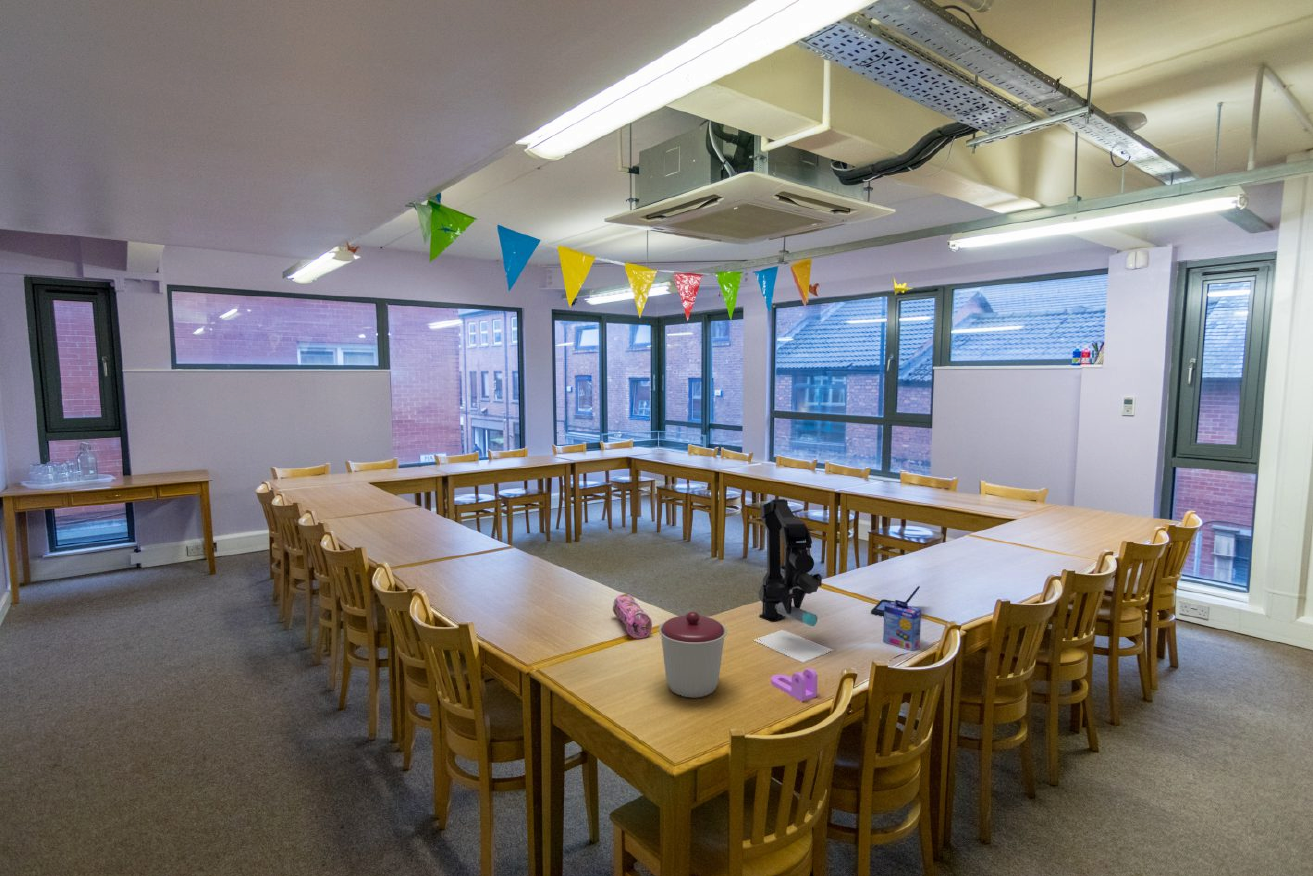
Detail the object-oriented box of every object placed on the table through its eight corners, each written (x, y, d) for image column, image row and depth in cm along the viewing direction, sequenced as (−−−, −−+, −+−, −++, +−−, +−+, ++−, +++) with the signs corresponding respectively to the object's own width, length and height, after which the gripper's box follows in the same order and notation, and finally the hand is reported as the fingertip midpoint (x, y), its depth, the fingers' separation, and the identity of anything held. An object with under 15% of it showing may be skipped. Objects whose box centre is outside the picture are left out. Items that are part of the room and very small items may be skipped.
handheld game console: (882, 602, 238) (882, 578, 237) (919, 610, 230) (920, 585, 230) (869, 615, 225) (870, 589, 224) (909, 623, 217) (910, 597, 217)
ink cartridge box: (881, 642, 201) (883, 597, 199) (889, 637, 205) (891, 593, 203) (912, 652, 194) (914, 605, 192) (920, 646, 198) (922, 601, 196)
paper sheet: (753, 641, 201) (753, 640, 201) (782, 630, 210) (782, 629, 210) (803, 663, 186) (803, 662, 186) (832, 650, 194) (833, 649, 194)
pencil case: (610, 618, 220) (610, 593, 220) (635, 615, 223) (635, 591, 222) (627, 642, 200) (627, 615, 199) (655, 639, 203) (655, 612, 202)
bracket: (816, 697, 166) (817, 671, 165) (801, 703, 163) (802, 676, 162) (781, 677, 177) (782, 653, 176) (766, 682, 174) (767, 658, 173)
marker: (774, 614, 202) (771, 605, 201) (781, 607, 204) (778, 598, 202) (811, 628, 190) (808, 619, 189) (818, 621, 192) (815, 612, 191)
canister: (676, 711, 158) (676, 629, 156) (647, 680, 175) (648, 605, 173) (738, 697, 165) (740, 618, 163) (706, 668, 182) (706, 597, 180)
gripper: (794, 575, 183) (793, 627, 185) (834, 564, 195) (833, 613, 196) (765, 566, 192) (764, 616, 194) (805, 556, 204) (804, 603, 205)
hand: (792, 612), depth 197 cm, fingers closed on marker, 4 cm apart
